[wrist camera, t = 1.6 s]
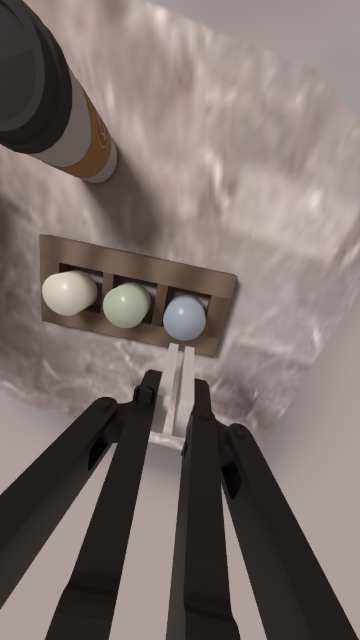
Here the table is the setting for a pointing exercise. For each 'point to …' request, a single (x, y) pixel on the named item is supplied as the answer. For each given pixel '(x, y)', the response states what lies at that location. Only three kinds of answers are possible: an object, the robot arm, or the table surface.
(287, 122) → the table surface
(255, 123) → the table surface
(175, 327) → the pale blue rounded knob
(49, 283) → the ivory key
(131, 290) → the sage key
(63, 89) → the coffee cup
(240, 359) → the table surface
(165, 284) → the wooden tray
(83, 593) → the robot arm
